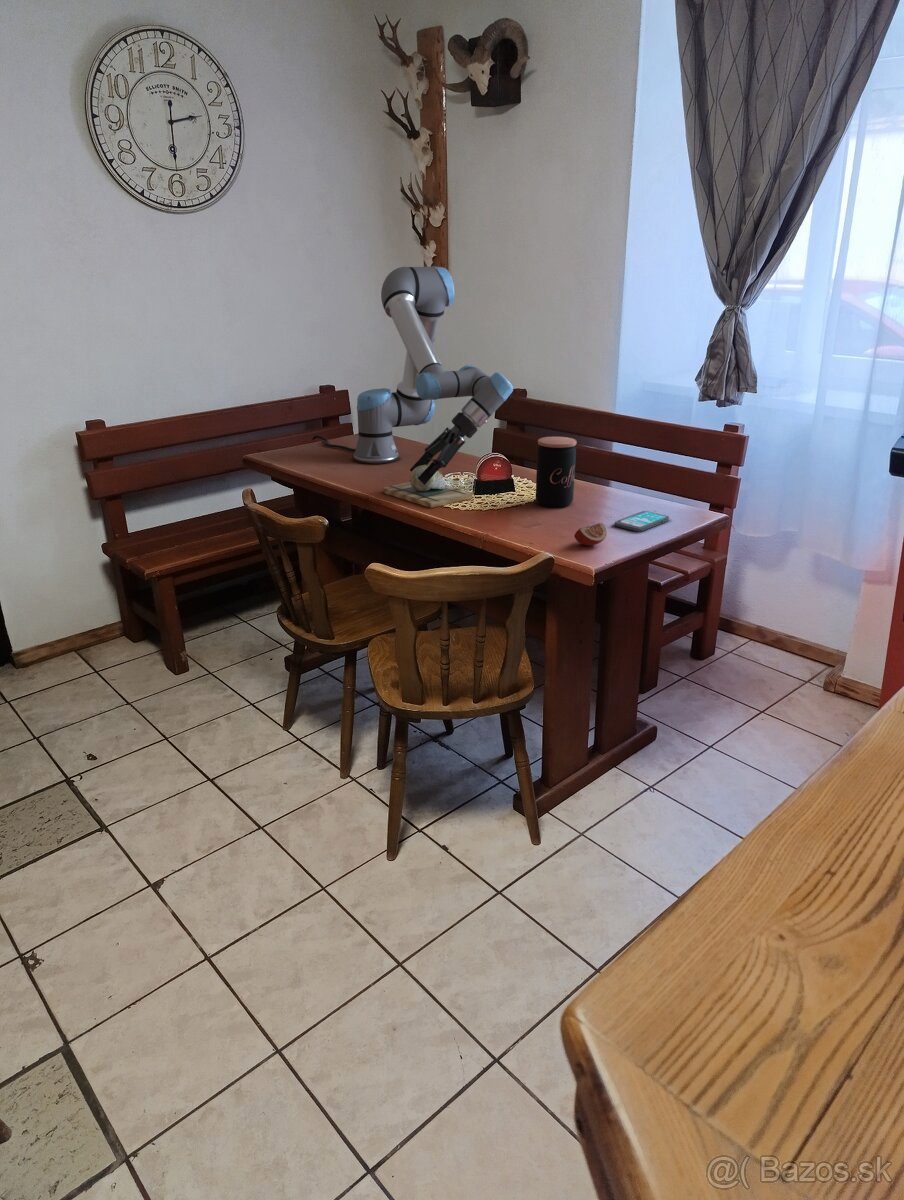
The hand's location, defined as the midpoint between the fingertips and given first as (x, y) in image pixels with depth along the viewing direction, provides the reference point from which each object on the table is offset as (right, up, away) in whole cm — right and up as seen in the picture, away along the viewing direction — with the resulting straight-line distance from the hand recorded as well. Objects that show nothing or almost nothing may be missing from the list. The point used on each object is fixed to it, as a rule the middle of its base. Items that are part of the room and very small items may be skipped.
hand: (416, 477), depth 237 cm
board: (+3, -5, +3) cm, 6 cm away
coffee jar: (+39, -8, -5) cm, 41 cm away
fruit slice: (+44, -23, -39) cm, 63 cm away
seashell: (+3, -3, +2) cm, 5 cm away
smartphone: (+60, -16, -22) cm, 66 cm away
